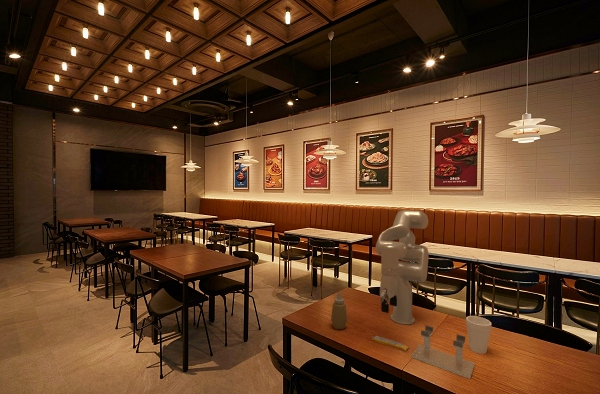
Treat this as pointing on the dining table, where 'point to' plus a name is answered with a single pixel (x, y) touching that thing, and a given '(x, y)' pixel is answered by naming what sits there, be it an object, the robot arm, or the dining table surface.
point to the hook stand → (444, 355)
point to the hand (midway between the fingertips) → (389, 308)
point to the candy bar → (389, 343)
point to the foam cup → (478, 333)
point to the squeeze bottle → (339, 313)
